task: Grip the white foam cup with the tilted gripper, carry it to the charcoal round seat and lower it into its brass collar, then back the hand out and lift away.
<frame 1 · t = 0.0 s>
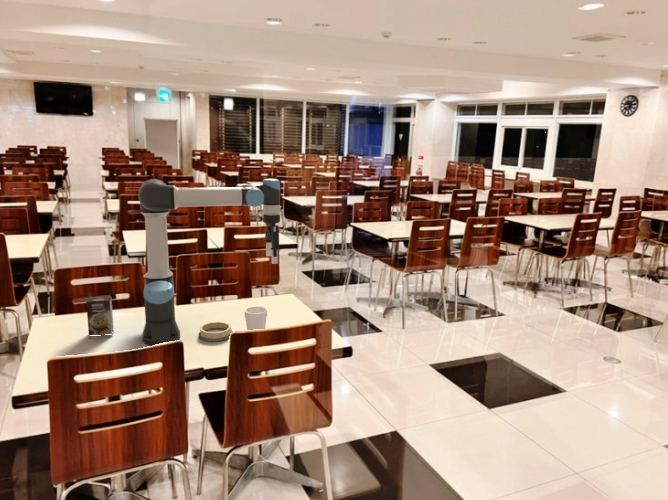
hand: (271, 259, 237), 28 cm above the table, tool pointing down, fingers open, 13 cm apart
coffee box: (101, 335, 218), on the table
collar seat: (215, 335, 221), on the table
foam cup: (256, 339, 218), on the table
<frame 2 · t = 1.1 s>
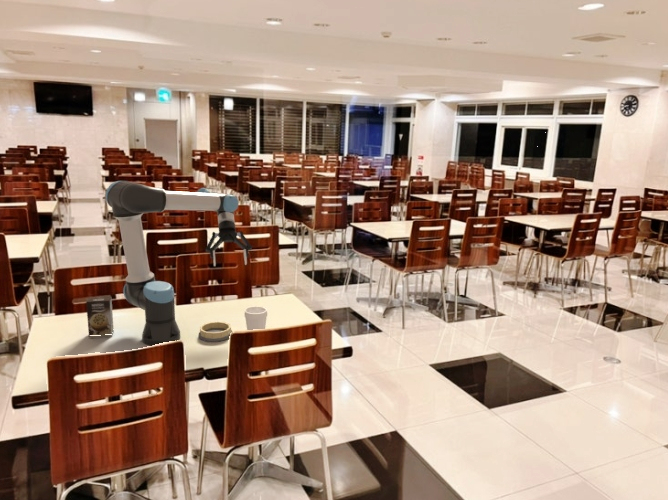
hand: (230, 263, 229), 28 cm above the table, tool tilted 45°, fingers open, 13 cm apart
nothing on the table moved.
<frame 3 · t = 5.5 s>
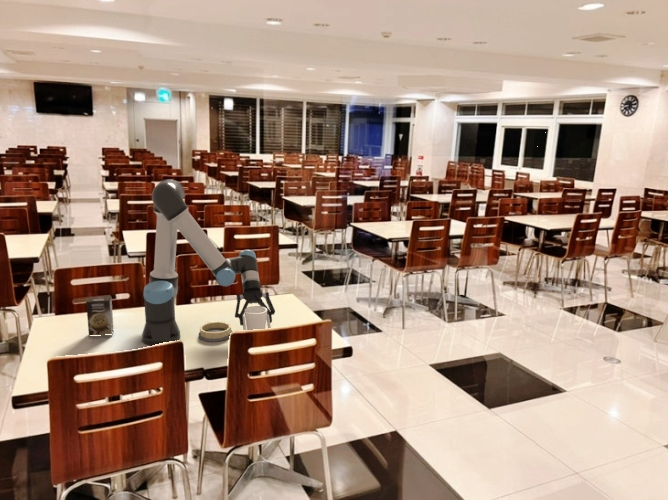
hand: (257, 330, 214), 5 cm above the table, tool tilted 45°, fingers closed on foam cup, 9 cm apart
foam cup: (256, 339, 218), on the table, touching gripper
everything else where it was.
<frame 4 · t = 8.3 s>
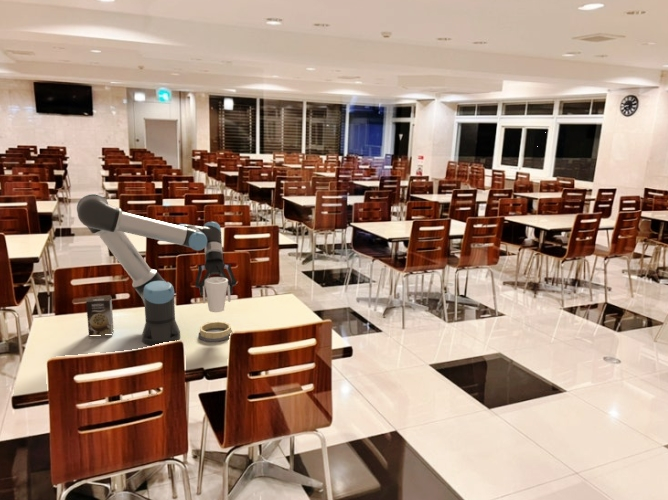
hand: (217, 301, 214), 17 cm above the table, tool tilted 45°, fingers closed on foam cup, 9 cm apart
foam cup: (216, 310, 218), point 11 cm above the table, touching gripper
everything else where it was.
when the fingers open (7 cm above the table, at t = 11.2 s): foam cup drops 1 cm, resting on collar seat.
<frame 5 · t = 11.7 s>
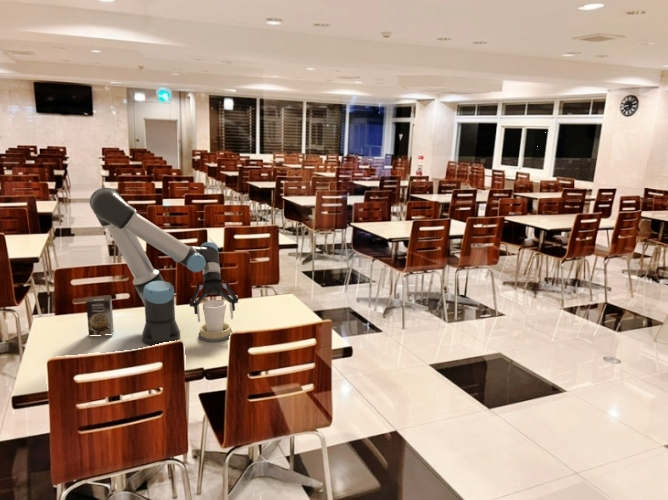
hand: (215, 319, 217), 8 cm above the table, tool tilted 45°, fingers open, 13 cm apart
foam cup: (215, 333, 221), point 1 cm above the table, touching collar seat
everything else where it was.
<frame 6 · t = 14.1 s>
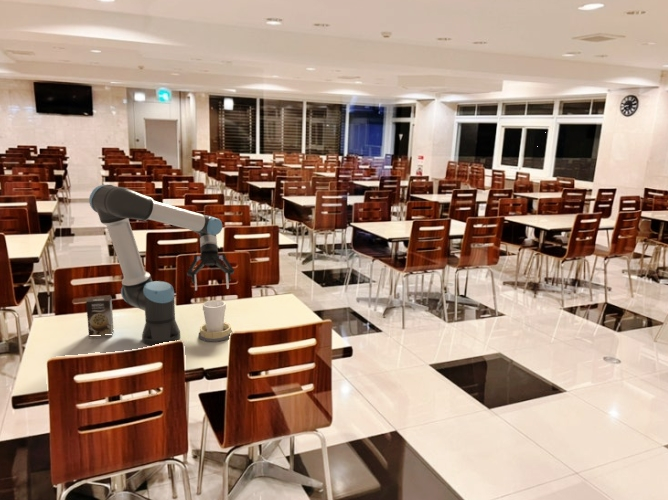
hand: (212, 288, 227), 18 cm above the table, tool tilted 45°, fingers open, 13 cm apart
nothing on the table moved.
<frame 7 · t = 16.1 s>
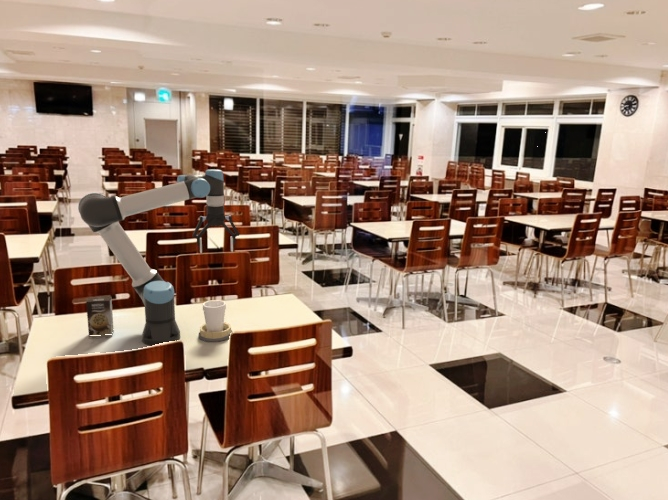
hand: (216, 252, 233), 32 cm above the table, tool pointing down, fingers open, 13 cm apart
nothing on the table moved.
at the end: foam cup 0.2 cm off-centre on the collar seat, point 1.0 cm above the collar seat's base; foam cup tilted 0°; the gripper is holding nothing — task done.
